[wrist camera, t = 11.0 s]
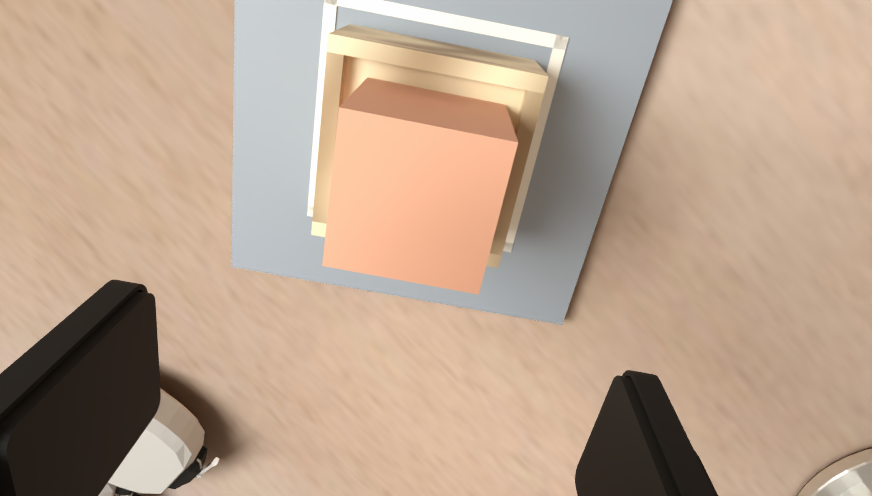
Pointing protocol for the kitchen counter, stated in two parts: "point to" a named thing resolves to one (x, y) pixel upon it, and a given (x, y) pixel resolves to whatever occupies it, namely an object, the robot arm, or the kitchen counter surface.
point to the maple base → (436, 70)
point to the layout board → (546, 163)
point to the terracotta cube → (417, 184)
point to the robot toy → (162, 454)
